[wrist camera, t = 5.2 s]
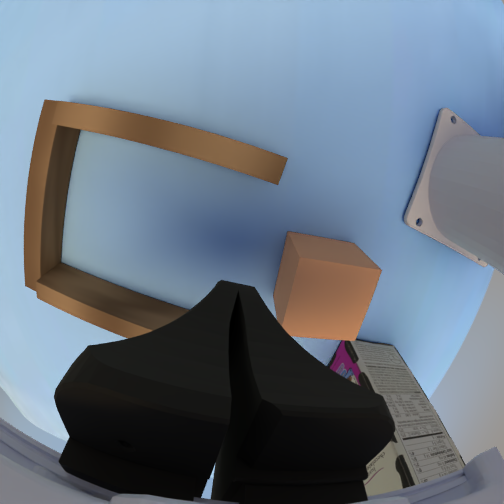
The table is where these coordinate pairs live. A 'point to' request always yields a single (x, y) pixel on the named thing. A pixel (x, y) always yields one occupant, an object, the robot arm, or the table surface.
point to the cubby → (55, 195)
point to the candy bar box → (399, 419)
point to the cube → (323, 287)
